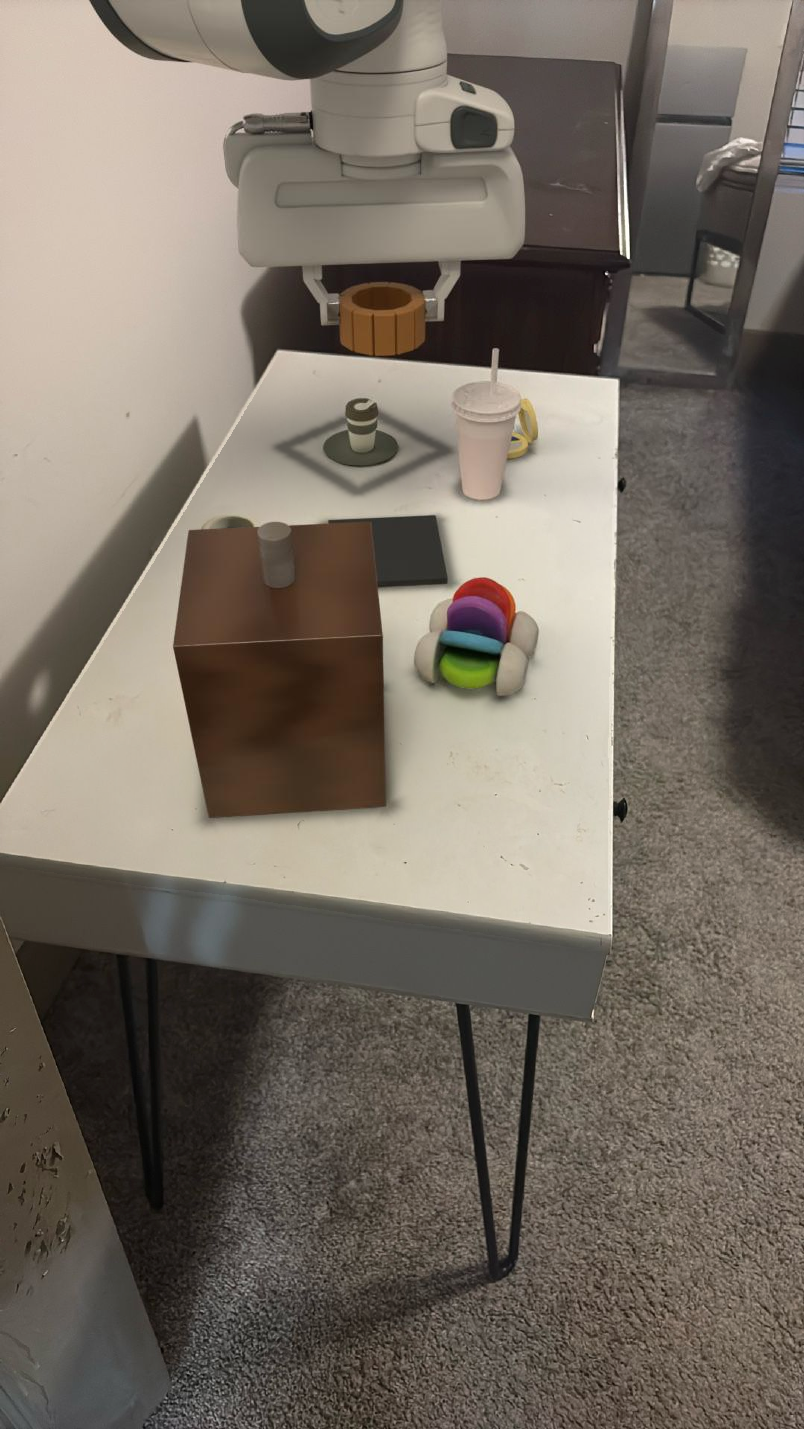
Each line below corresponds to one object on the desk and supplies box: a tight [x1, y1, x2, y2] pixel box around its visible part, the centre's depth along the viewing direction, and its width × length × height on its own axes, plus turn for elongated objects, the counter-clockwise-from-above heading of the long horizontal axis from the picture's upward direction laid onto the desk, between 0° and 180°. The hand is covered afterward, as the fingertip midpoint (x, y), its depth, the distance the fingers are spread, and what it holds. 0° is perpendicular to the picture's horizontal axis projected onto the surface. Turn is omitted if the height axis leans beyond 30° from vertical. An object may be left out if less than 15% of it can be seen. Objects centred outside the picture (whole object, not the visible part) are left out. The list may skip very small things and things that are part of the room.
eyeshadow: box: [507, 397, 539, 459], centre depth 102 cm, size 4×5×5 cm
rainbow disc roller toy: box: [413, 576, 540, 696], centre depth 76 cm, size 8×10×7 cm
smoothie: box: [450, 347, 522, 501], centre depth 93 cm, size 6×6×14 cm
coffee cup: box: [322, 397, 399, 467], centre depth 102 cm, size 12×12×5 cm
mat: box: [327, 514, 448, 588], centre depth 89 cm, size 10×10×1 cm
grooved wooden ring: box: [338, 281, 426, 357], centre depth 75 cm, size 6×6×3 cm
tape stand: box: [172, 521, 387, 818], centre depth 65 cm, size 12×12×18 cm
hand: (382, 320), depth 75 cm, fingers closed on grooved wooden ring, 6 cm apart
